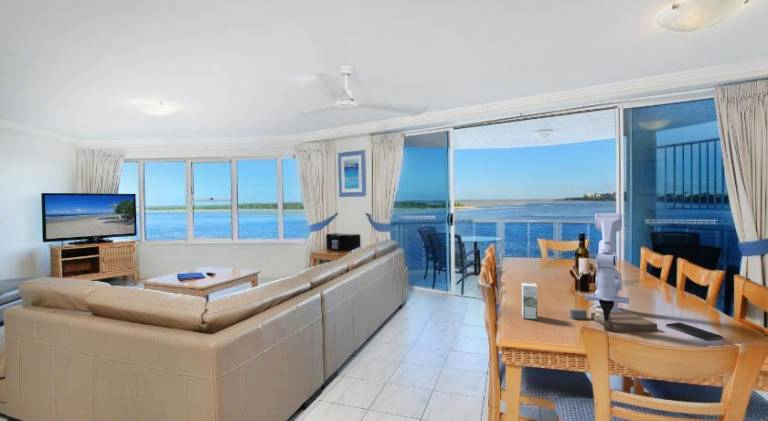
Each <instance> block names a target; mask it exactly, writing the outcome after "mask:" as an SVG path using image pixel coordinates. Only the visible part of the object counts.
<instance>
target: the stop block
mask: <svg viewBox="0 0 768 421" xmlns="http://www.w3.org/2000/svg"><path fill="white" fill-rule="evenodd" d="M587 317H588V313H587V310H586V309H584V308H581V309H579V308H577V309H575V308H574V309H569V319H571V320H587Z"/></svg>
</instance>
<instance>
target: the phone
mask: <svg viewBox="0 0 768 421" xmlns="http://www.w3.org/2000/svg"><path fill="white" fill-rule="evenodd" d="M665 327H666V328H668V329H671V330H674V331H677V332H680V333H682V334H686V335H688V336H691V337H695V338H698V339H700V340H704V341H706V342H707V341H709V342H710V341H715V340H723V335H720V334H717V333H715V332H711V331H709V330H704V329H702V328H698V327H696V326H694V325H693V326H692V325H689V324H686V323H683V322H672V323H666V324H665Z"/></svg>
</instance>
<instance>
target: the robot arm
mask: <svg viewBox="0 0 768 421" xmlns="http://www.w3.org/2000/svg"><path fill="white" fill-rule="evenodd" d="M594 226H595V229H596V231H597V232H598V231H599V232H601V238H602V239H600V240H599V241H598V249H597V250H598V252H597V255H596V257H595V258H596V260H595V261H596V263H595V265H596V272H595V288H596V289H595V291H594V293H584V300H585V301H588V300H589V301H590V300H591V301H594V305H592V307H593V308H595V307H596V306H601V308H602V310H603V312H604V315H605V321H608V317H609V314H610V312H624V311H623V310H620V308H619V304H626V305H630V298H629V297H624V296H619V292H621V291H622V288H623V287H622V286H623V285H622V284H623V283H622V279H623V278H622V273H621V272H620V271H618V269H617V263H618V262H617V259H618V257H617V253H616V246H617V244H616V242H615V235H616V233H618V232H621V230H622V227H623V214H622V213H620V212H619V213H615V212H614V213H613V212H609V213H608V212H603V213H602V212H601V213H600V212H596V213H595V214H594Z"/></svg>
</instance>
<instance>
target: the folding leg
mask: <svg viewBox="0 0 768 421" xmlns="http://www.w3.org/2000/svg"><path fill="white" fill-rule="evenodd" d="M594 309H595V311H594V313H595V315H596V321H595V323H598V324H600V323H604V315H603V310H602V308H601V306H596V307H594Z"/></svg>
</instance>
